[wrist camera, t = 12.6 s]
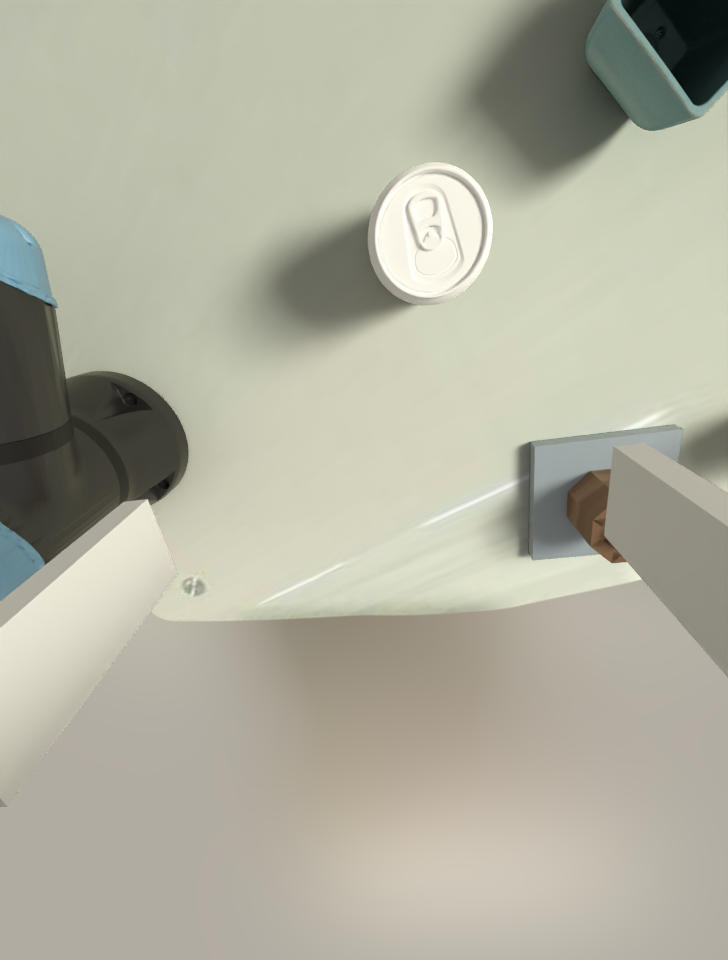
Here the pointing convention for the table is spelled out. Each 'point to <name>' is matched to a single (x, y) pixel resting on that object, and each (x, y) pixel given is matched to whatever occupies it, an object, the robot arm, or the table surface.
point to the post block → (564, 467)
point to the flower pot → (661, 58)
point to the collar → (592, 512)
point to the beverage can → (430, 233)
